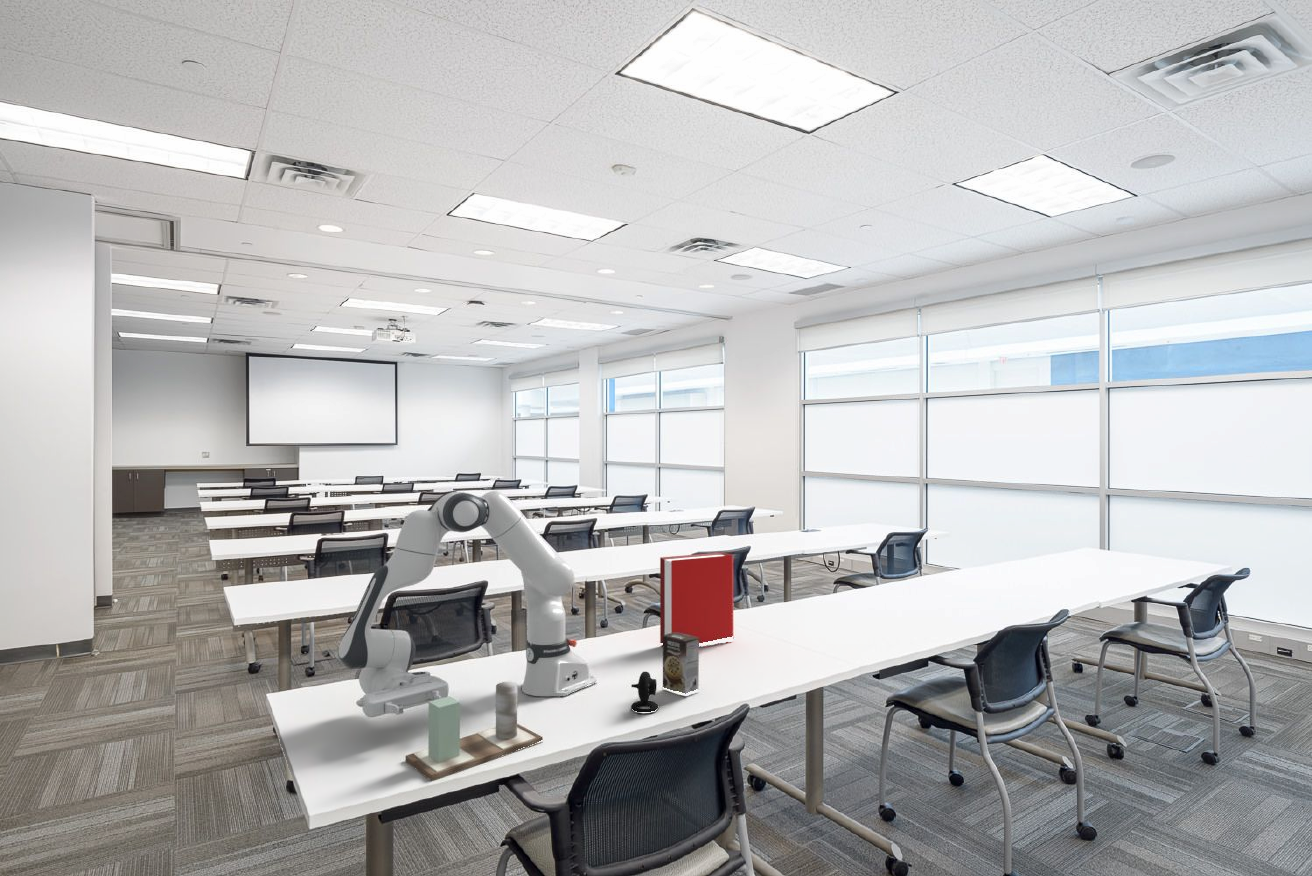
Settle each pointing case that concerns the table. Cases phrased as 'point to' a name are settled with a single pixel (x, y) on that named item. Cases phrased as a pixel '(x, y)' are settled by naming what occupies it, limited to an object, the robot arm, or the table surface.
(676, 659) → the coffee box
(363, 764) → the table surface
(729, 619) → the book
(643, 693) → the webcam
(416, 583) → the robot arm
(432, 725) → the sage green tall pillar
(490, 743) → the board
